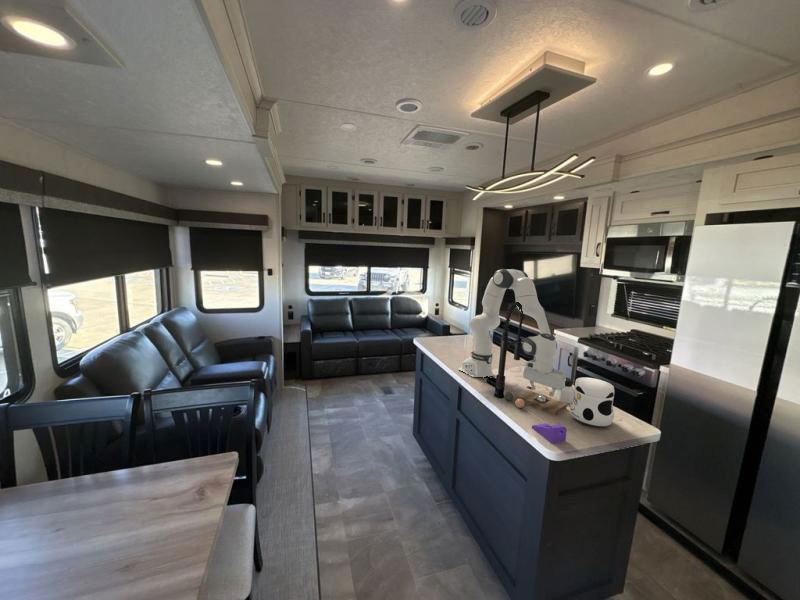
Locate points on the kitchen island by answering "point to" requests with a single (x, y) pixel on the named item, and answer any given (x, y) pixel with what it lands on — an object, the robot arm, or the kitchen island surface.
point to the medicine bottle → (565, 392)
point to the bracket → (551, 432)
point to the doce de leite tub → (593, 402)
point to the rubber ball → (508, 396)
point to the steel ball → (541, 399)
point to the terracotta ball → (520, 403)
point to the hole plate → (549, 407)
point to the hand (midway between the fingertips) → (542, 392)
